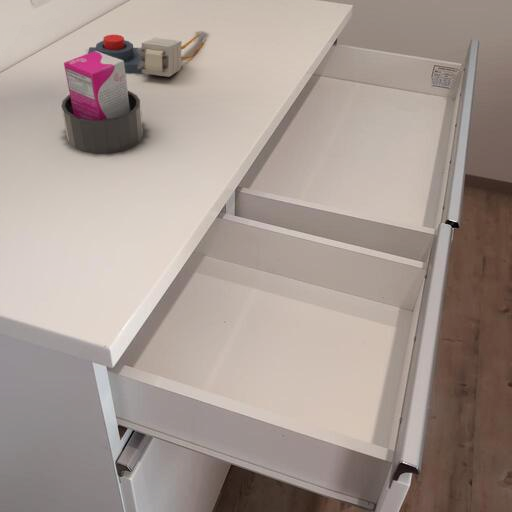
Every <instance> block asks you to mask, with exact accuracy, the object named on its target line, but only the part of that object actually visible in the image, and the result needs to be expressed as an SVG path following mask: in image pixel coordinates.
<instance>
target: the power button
mask: <svg viewBox="0 0 512 512" xmlns="http://www.w3.org/2000/svg"><path fill="white" fill-rule="evenodd" d="M124 40H125V37H124V36H123V35H120V34H108V35H105V36H103V40H102V41H104V48H105V49H108V50H121V49H124V48H125V44H124Z"/></svg>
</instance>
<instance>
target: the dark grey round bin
mask: <svg viewBox="0 0 512 512" xmlns="http://www.w3.org/2000/svg"><path fill="white" fill-rule="evenodd" d="M128 98H129V106H130V112H129V113H127V114H125V115H122V116H119V117H116V118H110V119H95V120H93V119H86V118H81V117H78V116H75V115H74V113H73V107H72V102H71V97H70V94H68V95H67V96H66V97H65V98H64V99H63V100H62V101H61V102H62V103H61V113H62V118H63V122H64V128H65V134H66V139H67V141H68V143H69V145H70V146H72V147H73V148H74V149H76V150H77V151H81V152H83V153H87V154H88V153H89V154H94V155H109V154H116V153H121V152H124V151H126V150H129V149H131V148H133V147H135V146H136V145H137V144H139V143H140V141H141V140H142V139H143V136H144V135H143V133H144V132H143V120H142V108H141V100H140V98H139V97H138V95H137V94H136V93H134V92H132V91H131V90H128Z"/></svg>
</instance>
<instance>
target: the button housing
mask: <svg viewBox="0 0 512 512" xmlns="http://www.w3.org/2000/svg"><path fill="white" fill-rule="evenodd" d="M124 44H125V48H124V49H121V50H108V49H105V48H104V40H101V41H99V42H98V43H96V46H90V47H89V48H88V53H87V54H89V53H91V52H94V51H98V52H101V53H103V54H106V55H108V56H111V57H114V58H117V59H121V60H123V61H124V66H125V74H143V73H142V69H138V68H137V67H138V65H139V63H140V61H141V59H142V58H141V57H140V56H139V54H138V52H137V48H138V47H134V44H133V43H132V42H130V41H129V40H125V39H124ZM140 48H141V49H142V47H140Z"/></svg>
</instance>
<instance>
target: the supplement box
mask: <svg viewBox="0 0 512 512" xmlns="http://www.w3.org/2000/svg"><path fill="white" fill-rule="evenodd" d="M63 67H64V71H65V77H66V80H67V81H66V82H67V87H68V92H69V95H70V97H71V102H72V107H73V113H74V115H75V116H78V117H81V118H86V119H93V120H95V119H110V118H116V117H119V116H122V115H125V114H127V113H129V112H130V106H129V98H128V91H129V90H128V83H127V75H126V74H127V73H125V66H124V61H123V60H121V59H117V58H114V57H111V56H108V55H106V54H103V53H101V52H98V51H94V52H91V53H89V54H88V53H86V54H83V55H80V56H78V57H75V58H72V59H70V60H67V61H65V62H63Z"/></svg>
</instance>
